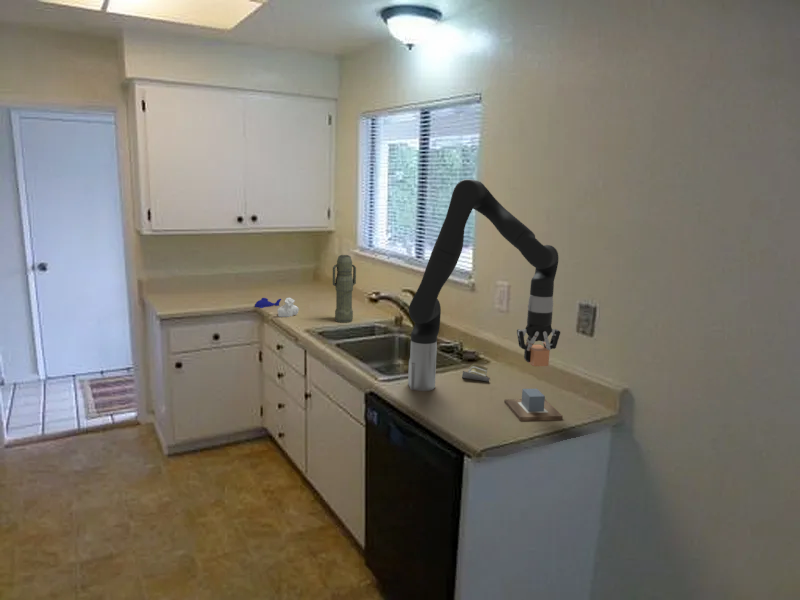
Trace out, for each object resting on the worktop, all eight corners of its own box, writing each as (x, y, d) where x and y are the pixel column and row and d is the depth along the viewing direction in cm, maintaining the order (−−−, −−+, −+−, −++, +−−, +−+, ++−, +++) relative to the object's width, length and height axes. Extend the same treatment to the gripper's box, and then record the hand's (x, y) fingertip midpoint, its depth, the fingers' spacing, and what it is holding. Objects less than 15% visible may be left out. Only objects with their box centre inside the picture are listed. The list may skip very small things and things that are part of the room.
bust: (295, 315, 310) (295, 294, 308) (301, 318, 304) (301, 297, 302) (274, 317, 303) (274, 296, 301) (280, 320, 297) (279, 299, 295)
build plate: (519, 420, 179) (520, 416, 178) (504, 402, 193) (504, 399, 193) (562, 419, 181) (562, 415, 180) (543, 401, 195) (544, 398, 195)
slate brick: (528, 411, 183) (529, 396, 182) (521, 403, 190) (522, 388, 189) (543, 411, 184) (544, 396, 183) (535, 403, 190) (537, 388, 189)
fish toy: (256, 311, 316) (255, 299, 315) (253, 308, 323) (253, 296, 321) (283, 309, 322) (283, 298, 321) (279, 307, 329) (279, 295, 328)
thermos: (358, 324, 294) (359, 256, 287) (336, 326, 288) (337, 257, 281) (350, 320, 302) (351, 254, 295) (329, 322, 296) (330, 254, 289)
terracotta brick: (533, 366, 180) (534, 351, 179) (524, 359, 186) (525, 344, 185) (548, 365, 181) (549, 350, 180) (538, 359, 187) (539, 344, 187)
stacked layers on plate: (486, 390, 218) (489, 378, 221) (489, 378, 211) (492, 365, 214) (460, 383, 219) (464, 371, 223) (463, 371, 212) (466, 359, 216)
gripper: (522, 312, 176) (518, 365, 179) (567, 311, 178) (562, 364, 181) (514, 306, 183) (510, 358, 186) (557, 306, 185) (552, 357, 188)
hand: (536, 361), depth 184 cm, fingers closed on terracotta brick, 5 cm apart
